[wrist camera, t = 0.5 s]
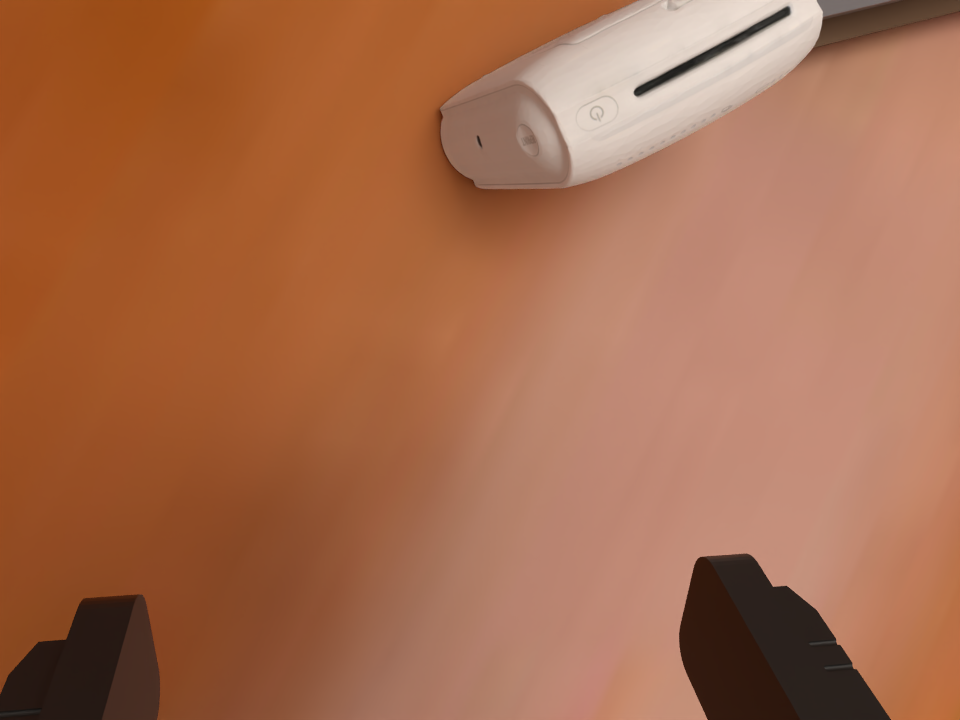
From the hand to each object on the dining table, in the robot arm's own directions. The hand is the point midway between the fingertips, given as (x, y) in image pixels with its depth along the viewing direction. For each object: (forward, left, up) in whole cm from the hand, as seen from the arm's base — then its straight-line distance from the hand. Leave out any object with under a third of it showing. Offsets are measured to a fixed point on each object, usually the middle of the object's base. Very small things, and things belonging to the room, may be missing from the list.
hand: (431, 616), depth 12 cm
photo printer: (-7, +13, -23) cm, 27 cm away
